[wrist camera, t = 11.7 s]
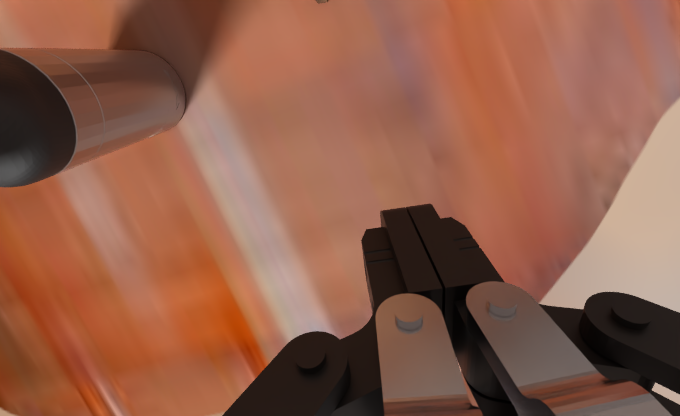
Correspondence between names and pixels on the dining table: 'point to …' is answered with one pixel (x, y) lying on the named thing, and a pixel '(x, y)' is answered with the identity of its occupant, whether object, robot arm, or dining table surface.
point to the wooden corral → (321, 1)
